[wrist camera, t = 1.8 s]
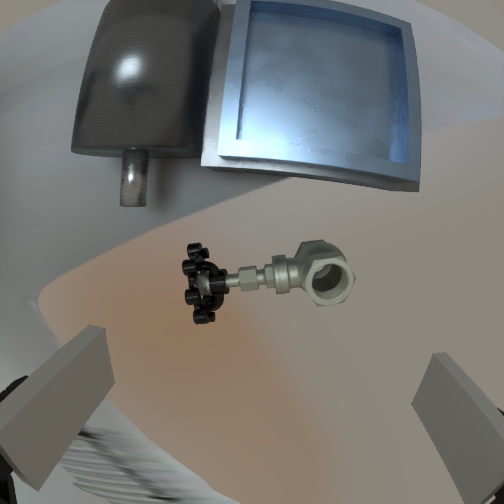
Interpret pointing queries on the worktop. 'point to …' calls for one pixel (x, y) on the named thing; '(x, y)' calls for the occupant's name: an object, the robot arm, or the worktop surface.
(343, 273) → the valve
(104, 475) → the worktop surface
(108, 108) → the motor
